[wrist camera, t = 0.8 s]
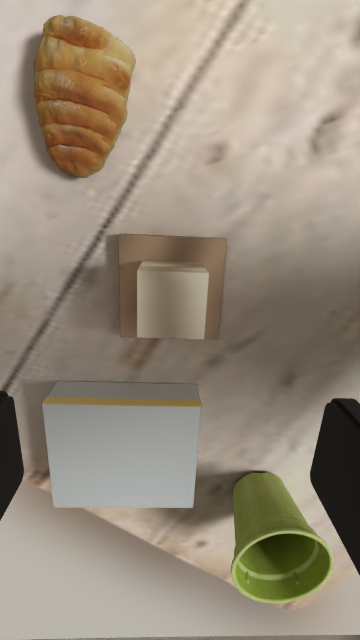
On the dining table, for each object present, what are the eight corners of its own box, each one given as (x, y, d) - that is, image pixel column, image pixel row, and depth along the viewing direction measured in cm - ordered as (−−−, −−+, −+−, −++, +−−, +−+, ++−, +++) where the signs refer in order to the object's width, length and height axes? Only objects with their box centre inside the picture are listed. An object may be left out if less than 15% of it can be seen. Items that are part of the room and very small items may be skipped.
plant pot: (201, 494, 37) (210, 575, 28) (258, 444, 35) (286, 516, 26) (256, 531, 39) (279, 616, 31) (313, 486, 37) (354, 564, 29)
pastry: (119, 187, 26) (111, 183, 22) (36, 168, 25) (14, 160, 22) (139, 52, 23) (133, 22, 19) (46, 26, 22) (21, -10, 19)
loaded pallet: (224, 238, 27) (240, 245, 21) (216, 333, 30) (227, 364, 24) (121, 233, 27) (107, 239, 21) (122, 331, 30) (110, 361, 24)
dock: (197, 383, 32) (201, 406, 28) (191, 476, 36) (193, 507, 32) (56, 380, 31) (41, 403, 27) (65, 475, 35) (53, 507, 31)
